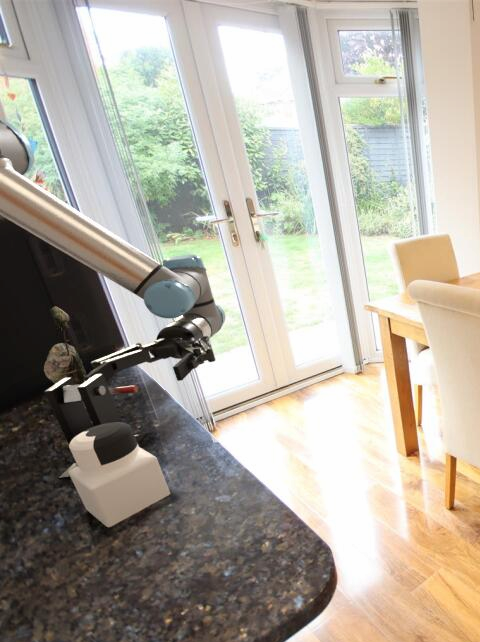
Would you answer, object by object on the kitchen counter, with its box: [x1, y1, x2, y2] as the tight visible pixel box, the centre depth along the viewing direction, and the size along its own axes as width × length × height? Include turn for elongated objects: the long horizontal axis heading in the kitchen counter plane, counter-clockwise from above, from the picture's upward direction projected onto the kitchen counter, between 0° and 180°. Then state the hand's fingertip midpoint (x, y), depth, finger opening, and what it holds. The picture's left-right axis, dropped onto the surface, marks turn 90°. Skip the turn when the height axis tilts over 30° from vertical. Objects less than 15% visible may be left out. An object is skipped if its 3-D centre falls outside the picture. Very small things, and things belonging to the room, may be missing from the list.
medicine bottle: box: [68, 421, 171, 528], centre depth 60 cm, size 7×7×12 cm
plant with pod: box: [43, 306, 87, 409], centre depth 86 cm, size 8×11×20 cm
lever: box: [63, 384, 139, 403], centre depth 71 cm, size 11×5×2 cm, turn 13°
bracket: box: [43, 374, 148, 480], centre depth 69 cm, size 10×7×14 cm
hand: (133, 379), depth 80 cm, fingers open, 13 cm apart
